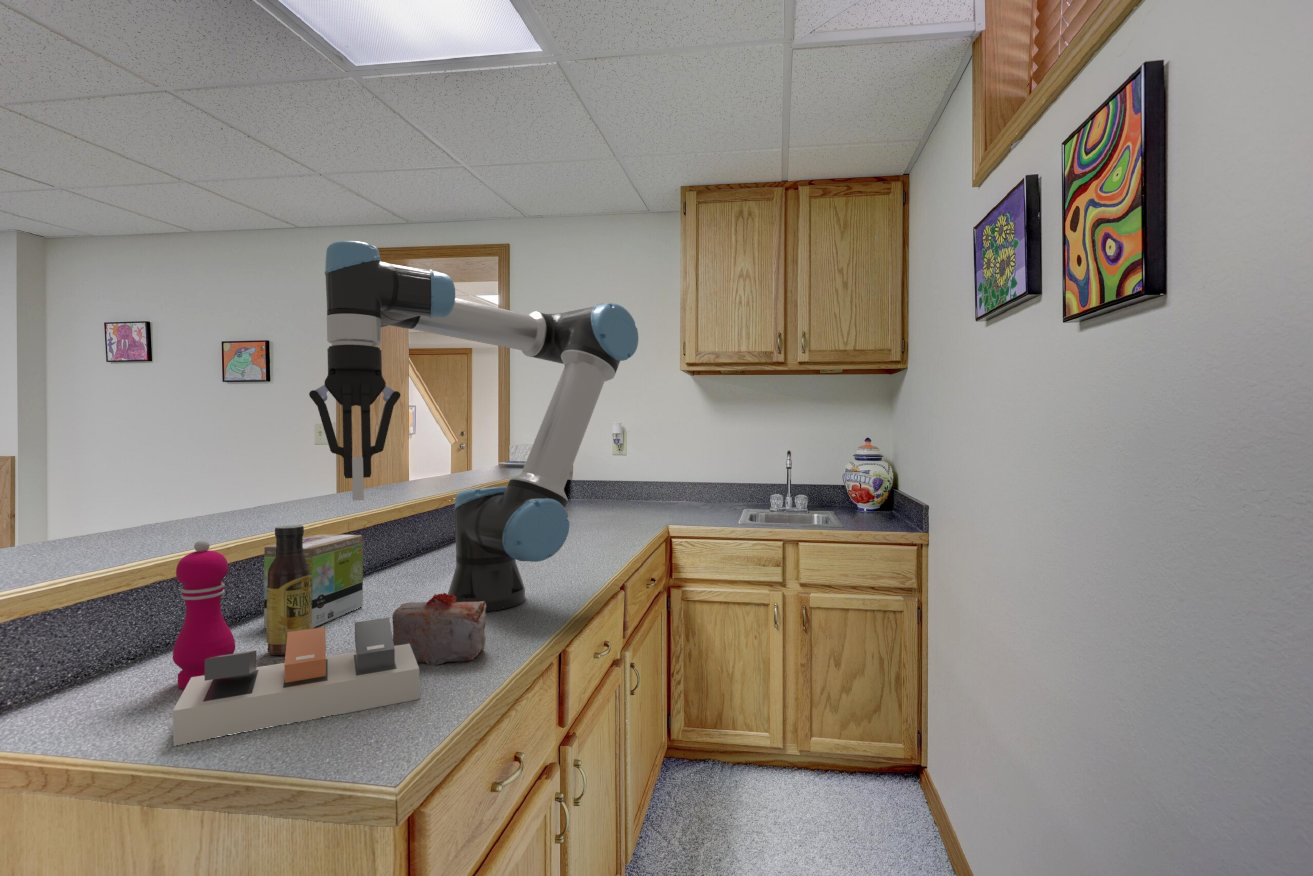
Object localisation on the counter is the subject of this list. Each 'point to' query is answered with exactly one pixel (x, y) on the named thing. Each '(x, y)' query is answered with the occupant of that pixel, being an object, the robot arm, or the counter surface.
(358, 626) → the rocker end
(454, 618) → the food item
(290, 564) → the sauce bottle
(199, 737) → the rocker switch panel
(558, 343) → the robot arm
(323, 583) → the tea box
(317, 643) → the rocker middle
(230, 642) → the pepper mill
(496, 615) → the counter surface
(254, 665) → the block
